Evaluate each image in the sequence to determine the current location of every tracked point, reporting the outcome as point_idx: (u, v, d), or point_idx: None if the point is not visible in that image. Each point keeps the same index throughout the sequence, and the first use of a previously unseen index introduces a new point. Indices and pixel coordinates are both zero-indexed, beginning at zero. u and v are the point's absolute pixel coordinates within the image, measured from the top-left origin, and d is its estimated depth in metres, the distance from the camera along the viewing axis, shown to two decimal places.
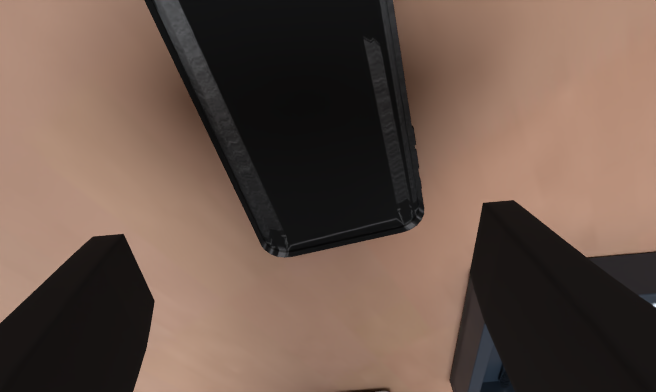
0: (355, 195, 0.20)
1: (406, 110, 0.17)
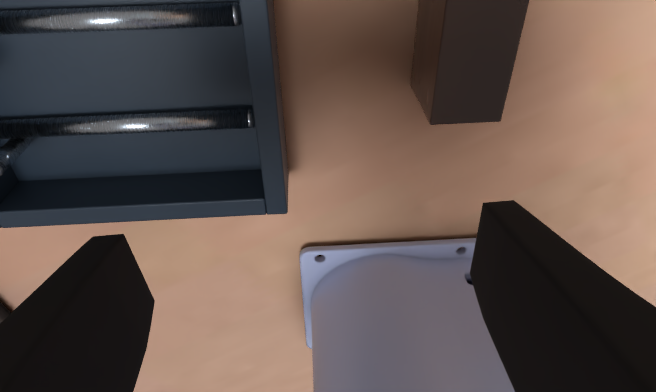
0: None
1: None
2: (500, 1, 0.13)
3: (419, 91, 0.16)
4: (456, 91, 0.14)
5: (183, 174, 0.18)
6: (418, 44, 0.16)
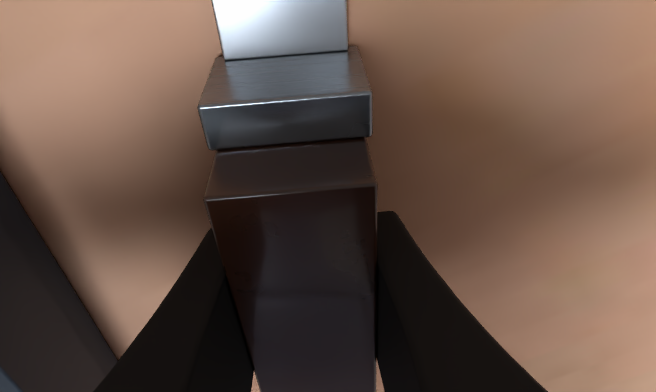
0: None
1: None
2: (326, 293, 0.07)
3: None
4: (292, 384, 0.09)
5: None
6: None
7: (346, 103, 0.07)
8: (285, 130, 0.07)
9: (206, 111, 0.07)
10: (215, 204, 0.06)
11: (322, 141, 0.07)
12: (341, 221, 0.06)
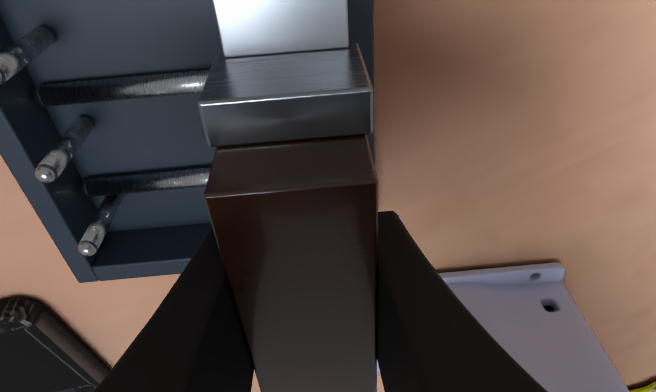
0: (11, 355, 0.23)
1: None
2: (327, 291, 0.07)
3: None
4: (293, 382, 0.09)
5: None
6: None
7: (347, 100, 0.07)
8: (285, 127, 0.07)
9: (206, 108, 0.07)
10: (215, 201, 0.06)
11: (323, 139, 0.07)
12: (341, 219, 0.06)
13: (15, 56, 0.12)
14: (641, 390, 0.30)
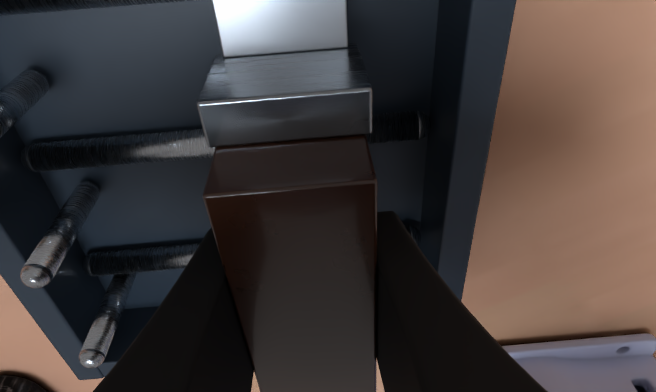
0: None
1: None
2: (326, 291, 0.07)
3: None
4: (292, 382, 0.09)
5: None
6: None
7: (346, 100, 0.07)
8: (284, 127, 0.07)
9: (205, 108, 0.07)
10: (214, 201, 0.06)
11: (322, 139, 0.07)
12: (341, 219, 0.06)
13: None
14: None
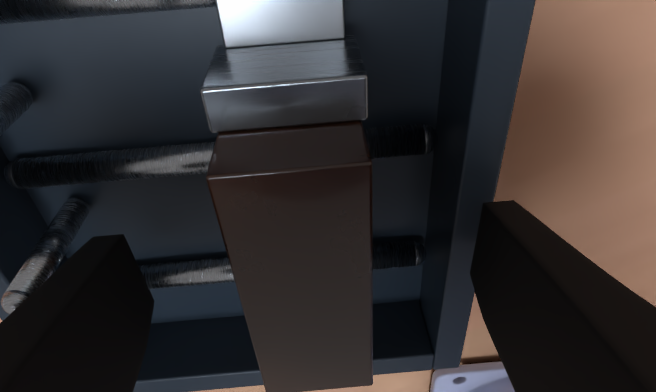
0: None
1: None
2: (324, 272, 0.08)
3: None
4: (292, 363, 0.09)
5: None
6: None
7: (342, 87, 0.07)
8: (284, 113, 0.07)
9: (208, 94, 0.07)
10: (217, 182, 0.06)
11: (320, 125, 0.07)
12: (337, 200, 0.07)
13: None
14: None
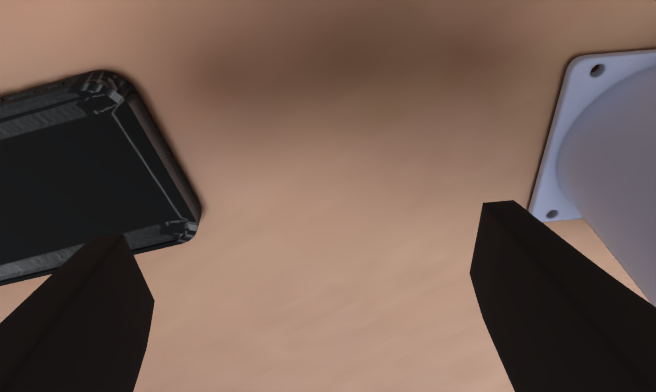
0: (88, 161, 0.17)
1: None
2: None
3: None
4: None
5: None
6: None
7: None
8: None
9: None
10: None
11: None
12: None
13: None
14: None
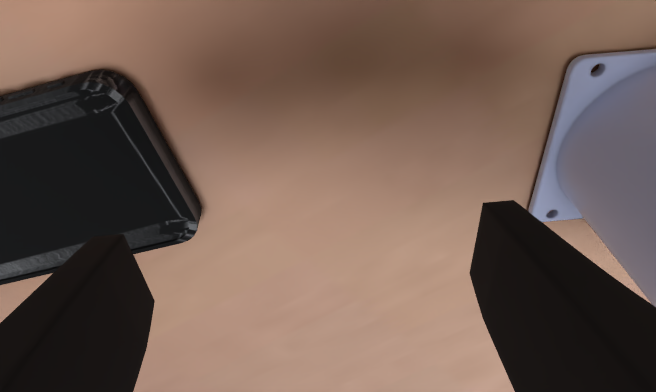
0: (88, 160, 0.17)
1: None
2: None
3: None
4: None
5: None
6: None
7: None
8: None
9: None
10: None
11: None
12: None
13: None
14: None
